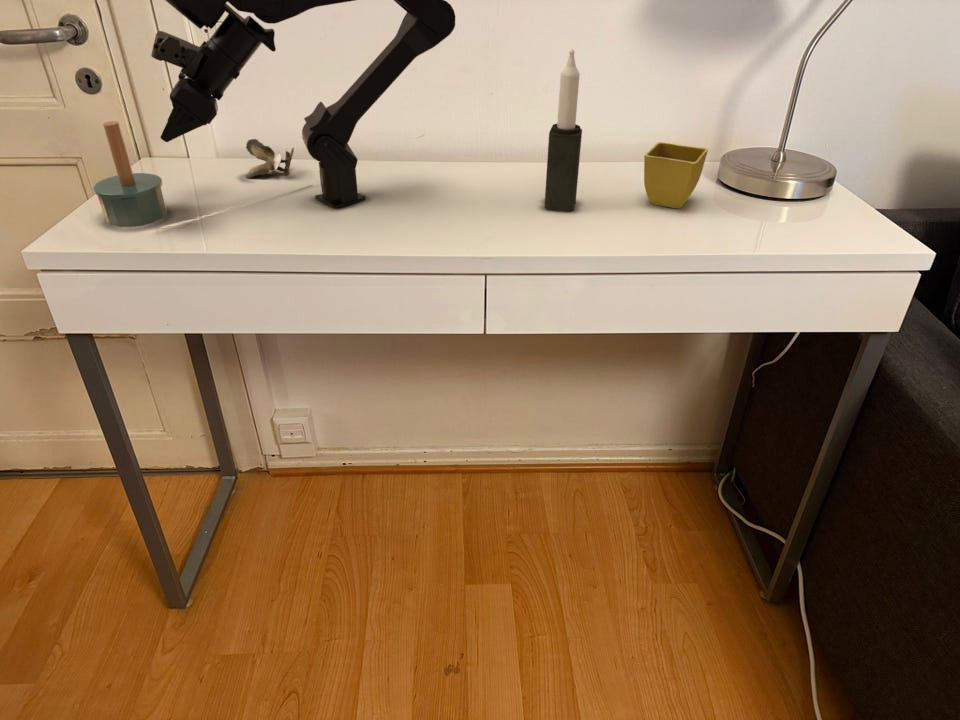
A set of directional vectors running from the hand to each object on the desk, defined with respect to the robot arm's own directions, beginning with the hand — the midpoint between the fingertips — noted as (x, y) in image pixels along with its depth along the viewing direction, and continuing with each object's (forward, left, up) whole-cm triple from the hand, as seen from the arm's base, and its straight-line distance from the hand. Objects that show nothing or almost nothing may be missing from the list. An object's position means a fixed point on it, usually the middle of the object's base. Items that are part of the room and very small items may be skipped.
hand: (166, 131), depth 107 cm
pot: (+4, +7, -14) cm, 16 cm away
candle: (-40, -48, -14) cm, 64 cm away
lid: (+4, +7, -8) cm, 11 cm away
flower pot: (-52, -63, -14) cm, 83 cm away
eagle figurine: (+7, -19, -14) cm, 25 cm away
